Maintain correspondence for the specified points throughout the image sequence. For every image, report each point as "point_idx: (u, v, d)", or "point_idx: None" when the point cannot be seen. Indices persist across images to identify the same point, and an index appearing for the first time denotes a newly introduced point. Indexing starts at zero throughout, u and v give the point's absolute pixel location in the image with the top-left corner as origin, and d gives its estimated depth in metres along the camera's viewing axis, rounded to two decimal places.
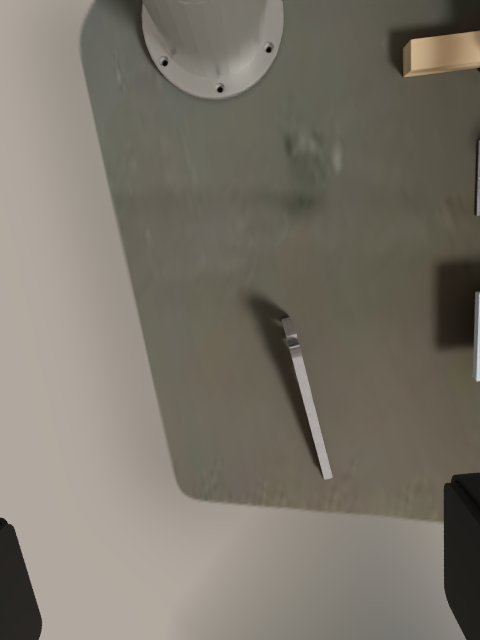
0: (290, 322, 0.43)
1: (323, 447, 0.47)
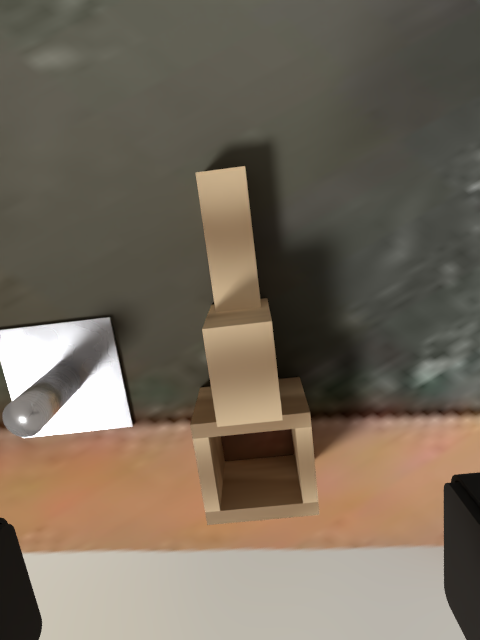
0: None
1: None
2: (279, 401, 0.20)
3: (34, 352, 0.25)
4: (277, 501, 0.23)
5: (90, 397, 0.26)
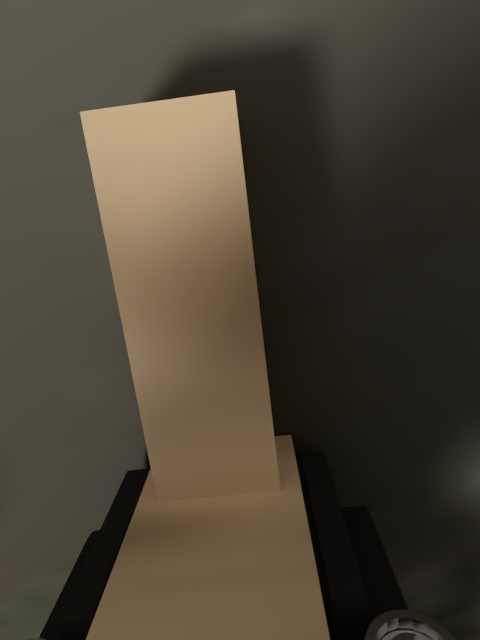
0: None
1: None
2: None
3: None
4: None
5: None
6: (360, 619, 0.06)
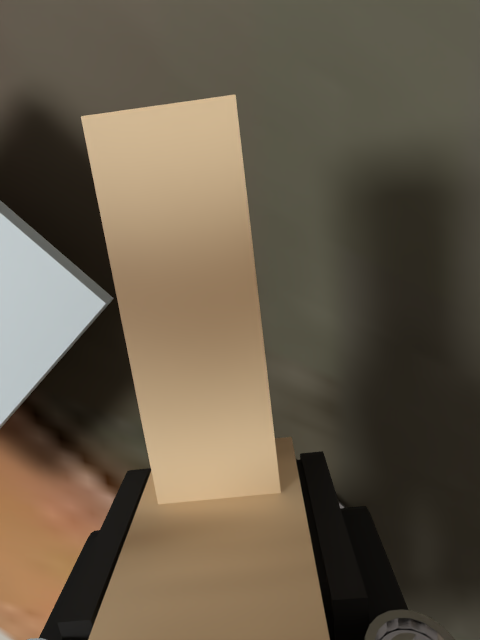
0: None
1: None
2: None
3: None
4: None
5: None
6: (360, 619, 0.06)
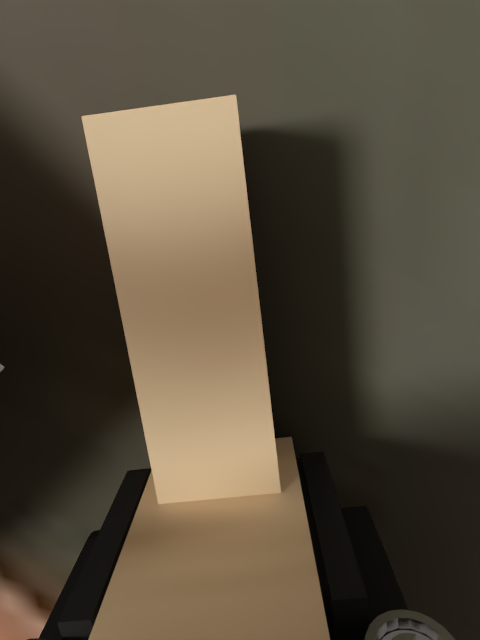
0: None
1: None
2: None
3: None
4: None
5: None
6: (360, 619, 0.06)
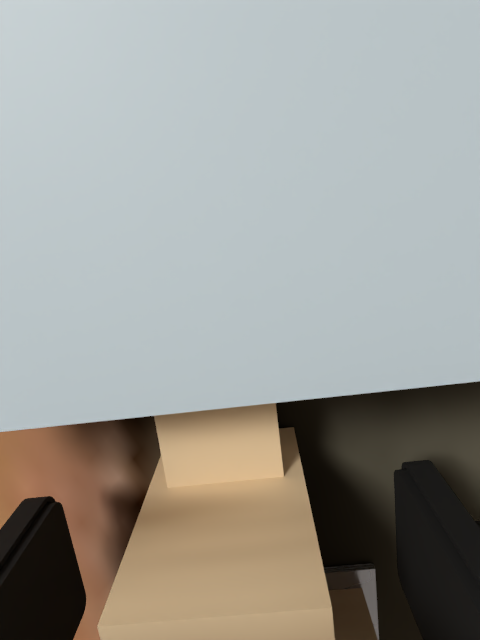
0: None
1: None
2: None
3: None
4: None
5: None
6: None
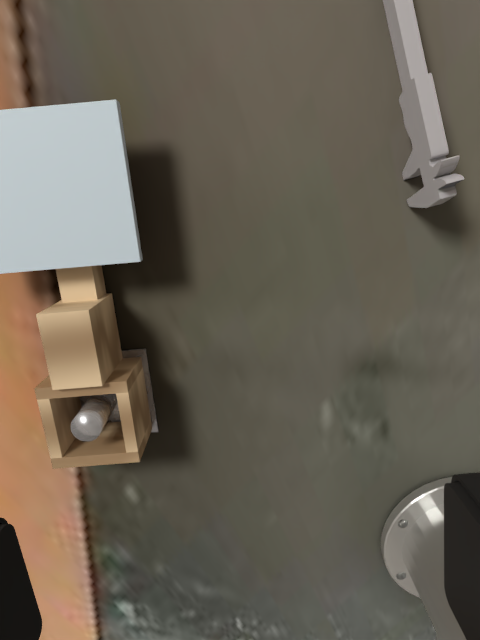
0: None
1: None
2: (98, 371, 0.27)
3: None
4: (108, 451, 0.29)
5: None
6: None
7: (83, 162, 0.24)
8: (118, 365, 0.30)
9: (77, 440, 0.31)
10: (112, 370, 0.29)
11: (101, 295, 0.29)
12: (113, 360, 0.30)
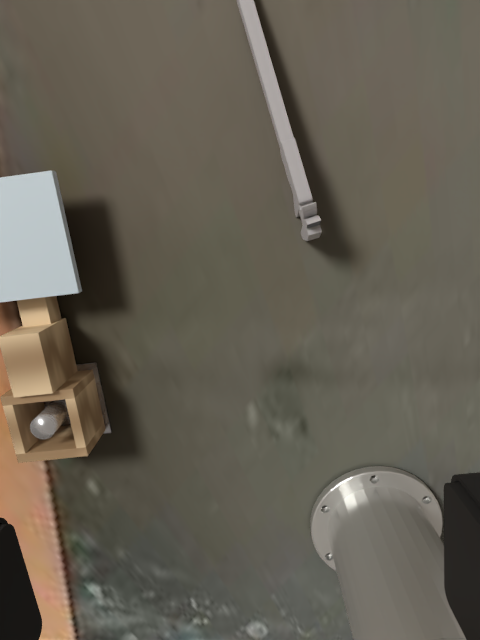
0: None
1: (250, 31, 0.30)
2: (49, 381, 0.33)
3: None
4: (62, 447, 0.35)
5: None
6: None
7: (30, 218, 0.31)
8: (71, 376, 0.37)
9: (40, 440, 0.37)
10: (64, 381, 0.36)
11: (55, 320, 0.36)
12: (66, 372, 0.36)
